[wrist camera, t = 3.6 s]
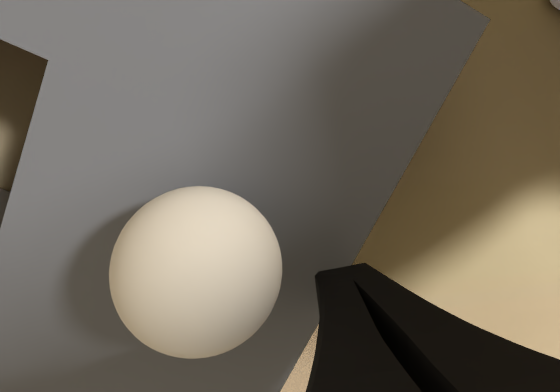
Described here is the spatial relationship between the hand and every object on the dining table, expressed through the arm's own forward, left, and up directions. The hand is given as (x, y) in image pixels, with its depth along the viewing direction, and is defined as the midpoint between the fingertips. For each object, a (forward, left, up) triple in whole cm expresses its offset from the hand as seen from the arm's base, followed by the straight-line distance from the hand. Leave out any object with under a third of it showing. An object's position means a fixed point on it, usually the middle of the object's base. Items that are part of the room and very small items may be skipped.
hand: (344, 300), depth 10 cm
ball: (+4, 0, +1) cm, 4 cm away
